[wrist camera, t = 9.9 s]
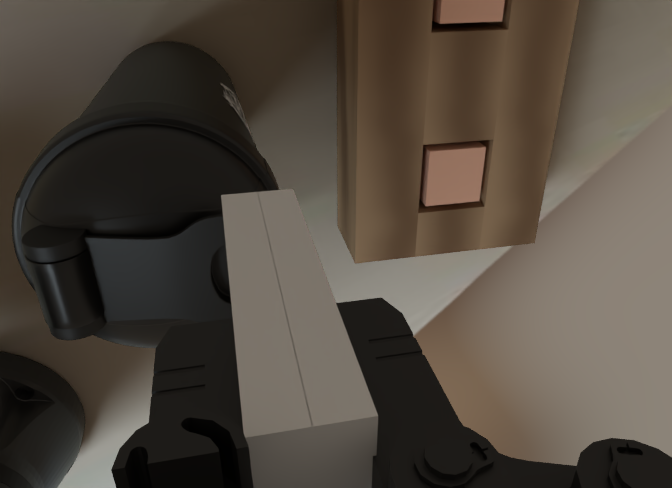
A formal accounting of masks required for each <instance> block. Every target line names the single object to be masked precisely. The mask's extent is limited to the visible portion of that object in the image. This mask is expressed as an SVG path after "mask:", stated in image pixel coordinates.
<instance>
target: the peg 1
mask: <svg viewBox="0 0 672 488" xmlns="http://www.w3.org/2000/svg"><path fill="white" fill-rule="evenodd" d="M485 152H486V147H485V146H484V145H483V144H481V143H480V142H479V141H467V142H454V143H441V144H428V145H423V154H422V168H421V182H420V196H419V199H420V200H421V201H422V202H423V204H424V205H425V206H434V205H444V204H454V203H465V202H475V201H479V199H480V191H481V183H482V175H483V167H484V160H485Z"/></svg>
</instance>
